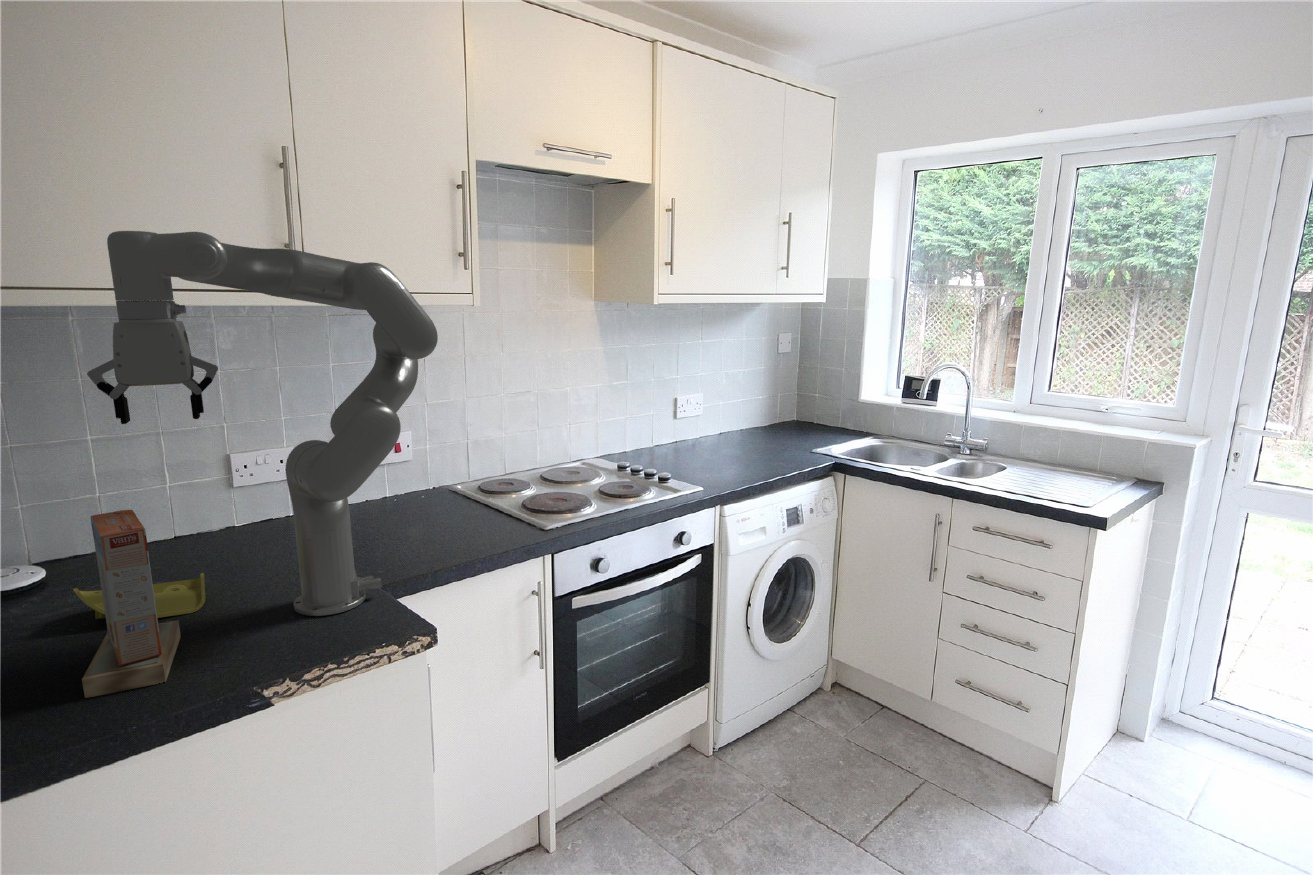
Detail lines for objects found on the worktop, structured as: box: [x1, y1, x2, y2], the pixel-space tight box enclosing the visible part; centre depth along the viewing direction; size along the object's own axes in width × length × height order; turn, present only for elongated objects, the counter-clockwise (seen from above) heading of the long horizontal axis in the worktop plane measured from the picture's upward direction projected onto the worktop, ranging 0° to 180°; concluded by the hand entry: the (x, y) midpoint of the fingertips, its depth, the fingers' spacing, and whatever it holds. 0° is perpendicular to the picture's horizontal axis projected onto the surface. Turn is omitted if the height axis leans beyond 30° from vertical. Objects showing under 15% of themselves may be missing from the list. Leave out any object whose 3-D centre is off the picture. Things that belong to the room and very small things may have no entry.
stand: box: [81, 619, 182, 699], centre depth 117 cm, size 10×17×3 cm, turn 26°
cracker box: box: [90, 509, 162, 666], centre depth 114 cm, size 14×6×21 cm, turn 42°
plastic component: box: [72, 572, 206, 620], centre depth 136 cm, size 20×7×10 cm
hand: (161, 420), depth 118 cm, fingers open, 9 cm apart
